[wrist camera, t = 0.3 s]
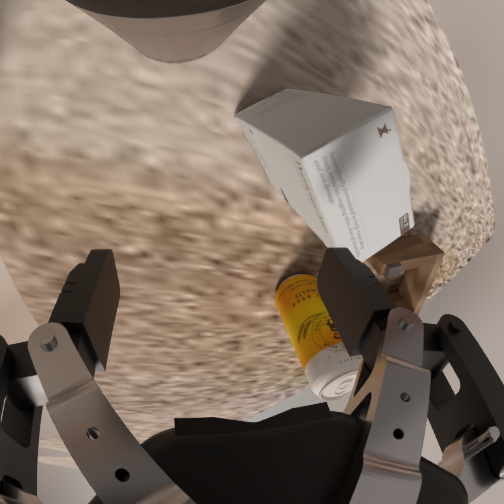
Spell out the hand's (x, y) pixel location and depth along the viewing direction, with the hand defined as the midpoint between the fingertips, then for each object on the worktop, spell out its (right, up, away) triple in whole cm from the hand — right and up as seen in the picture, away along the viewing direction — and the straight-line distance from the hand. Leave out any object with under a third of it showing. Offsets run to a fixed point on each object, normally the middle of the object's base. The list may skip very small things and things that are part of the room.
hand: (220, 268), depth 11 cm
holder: (+20, -3, +29) cm, 35 cm away
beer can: (+7, -4, +26) cm, 27 cm away
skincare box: (+4, +11, +15) cm, 20 cm away
